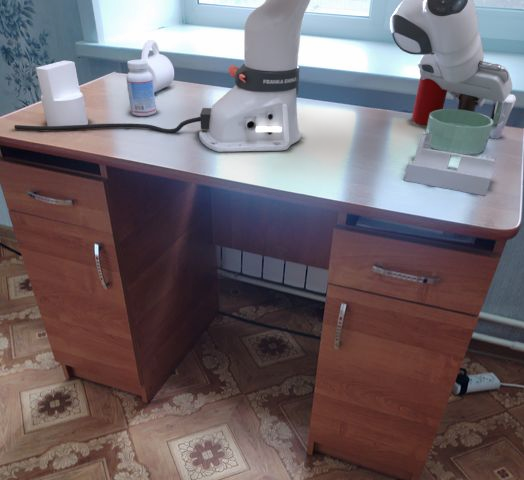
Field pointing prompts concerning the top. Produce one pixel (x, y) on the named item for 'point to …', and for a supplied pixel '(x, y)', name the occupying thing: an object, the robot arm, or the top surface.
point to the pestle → (467, 102)
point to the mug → (158, 66)
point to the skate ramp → (437, 173)
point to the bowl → (459, 131)
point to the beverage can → (427, 100)
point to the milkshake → (501, 115)
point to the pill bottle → (140, 88)
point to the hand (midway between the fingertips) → (469, 100)
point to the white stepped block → (61, 94)
